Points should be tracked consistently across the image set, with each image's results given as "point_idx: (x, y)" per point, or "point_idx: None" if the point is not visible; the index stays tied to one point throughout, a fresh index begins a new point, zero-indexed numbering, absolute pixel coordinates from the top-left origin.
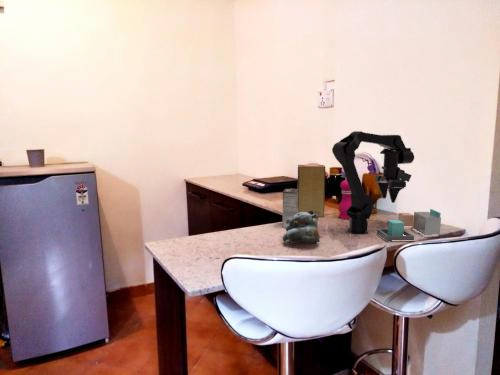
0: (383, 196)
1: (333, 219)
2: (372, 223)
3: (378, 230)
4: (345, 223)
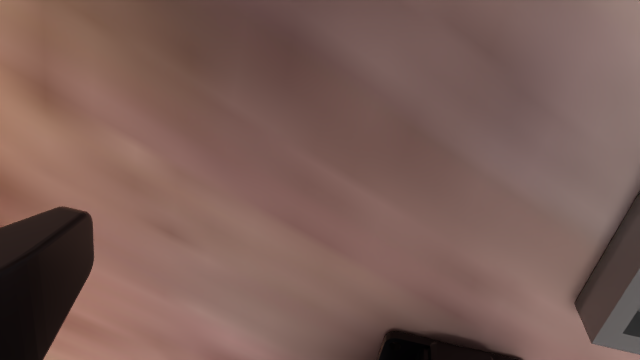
0: (62, 313)
1: None
2: (188, 121)
3: (628, 348)
4: (162, 341)
